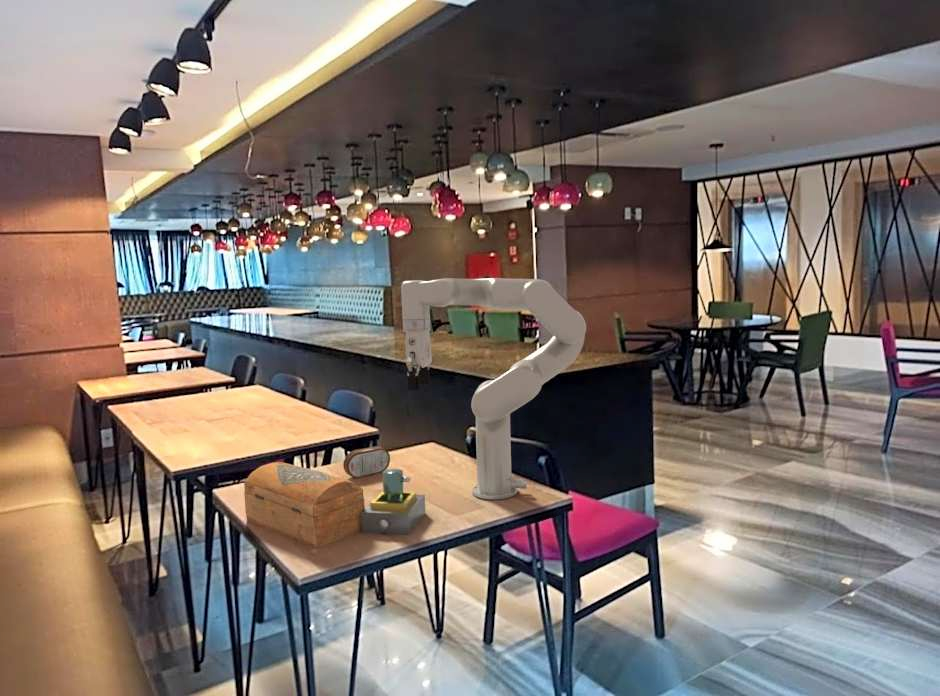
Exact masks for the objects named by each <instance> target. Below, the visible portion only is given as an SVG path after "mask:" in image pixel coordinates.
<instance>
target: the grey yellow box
mask: <svg viewBox="0 0 940 696" xmlns="http://www.w3.org/2000/svg"><path fill="white" fill-rule="evenodd" d="M403 495H404V502H403V503H395V502H384V499H383V490H382V491H381V492H380V493H379V494H377V496H376V497H374V498H373V499H372V500H371V502H370V503H369V504H368V505H367V506H366V507H365V509H364V510H363V511H362V512H361V521H362V530H361V532H362V533H374V534H389V535H390V534H393V535H411V533H412V532H413V530H414V529H415V528H416V527H417V525H418V524H419V523H420V521H421V520H422V519H423V518H424V517H425V515H426V497H425V496H426V495H425V494H417V491H403Z"/></svg>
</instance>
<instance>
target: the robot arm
mask: <svg viewBox="0 0 940 696" xmlns="http://www.w3.org/2000/svg"><path fill="white" fill-rule="evenodd" d="M400 288H401V289H400V292H401V310H402V312H401V313H402V331H403V332H405V363H406V366H407V367H406V371H407V374H406V375H407V387H408V388H407V390H408V391H420V390H421V385H429V384H431V381H430V378H431V376H430V365H431V364H432V362H433V357H432V355H433V354H432V345H431V336H430V331H431V314H430V313H431V312H430V309H431V308H430V307H436V308H445V307H447V306H473V307H482V308H485V309H488V310H494V311H495V310H496V311H527V312H530V313H531V315H532V316H533V317H534V318H535V319H536V320H537V321H538V322H539V323H540V324H541V325H542V326H544V327H545V328H546V330H548V332H550V334H551V335H552V338H551V339H550V340H549V341H548V342H546V343H545V344H544V345H542V346H541V347H540V348H538V349H537V350H535V351H534V352H532V353H531V354H529V355H527V356H526V357H524V358H522V359H520V360H519V361H517V362H515V363H513V364H512V365H511V367H509V369H508V371H506V372H505V373H503V374H501V375H500V376H499V377H498V378H496V379H489V380H488V379H487V380H486V381H483V382H482V383H480V384H479V385H478V387H477V388H476V390H475V391H474V394H473V396H472V398H471V402H470V403H471V407H470V408H471V411H472V413H473V414H474V417H475V444H476V445H475V447H476V449H475V450H476V473H477V474H476V475H477V479H476V480H477V481H476V482H477V484H476V485H474V486H473V487H472V489H471V491H472V495H473V496H475V497H477V498H480V499H483V500H503V499H508V498H512V497H514V496H515V495H517V493H518V489H525V490H526V489H528V481H525V480H524V479H516V478H515V474H513V473H512V456H511V455H512V453H511V451H512V450H511V449H512V447H511V414H512V413H513V412H515V411H517V410H518V409H519V408H521V407H523V406H524V405H526V404H527V403H529V402H530V401H532V400H533V399H534V398H535V397H536V396H537V395H539V393H540V391H541V389H542V386H543V385H544V384H545V383H547V382H549V381H550V380H551V379H553V378H555V377H556V376H557V375H558V374H560V373H562V372H563V371H565V370H566V369H568V367H570V366H571V365H572V364H573V363H574V362H575V361H576V359H578V357H579V355H580V353H581V351H582V349H583V346H584V343H585V338H586V336H585V335H586V332H587V323H586V321H585V317H583V315H582V313H580V312H579V311H578V310H576V309H574V307H572V305H570V304H569V303H568V302H567V301H566V300H565V299H564V298H563V297H562V296H561V295H560V294H559V293H558V292H557V291H556V289H554V288H553V286H552V284H551V283H549V282H548V281H547V280H544V279H541V278H540V279H538V278H537V279H536V278H508V277H507V278H506V277H505V278H504V277H503V278H502V277H490V278H489V277H488V278H455V277H454V278H451V277H449V278H448V277H446V278H444V277H443V278H438V279H432V280H428V281H426V280H422V279H417V280H416V279H415V280H404V281H402V283H401V287H400Z"/></svg>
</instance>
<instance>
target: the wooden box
mask: <svg viewBox="0 0 940 696" xmlns="http://www.w3.org/2000/svg"><path fill="white" fill-rule="evenodd" d="M243 495H244V508H245V511H244V512H245V516H246V521H248V522H249V523H252V524H255V525H258V526H260V527H263V528H265V529H267V530H269V531H270V530H271V531H273V532H275V533H278V534H281V535H283V536H285V537H288V538H291V539H293V540H295V541H298V542H301V543H303V544H305V545H308V546H311V547H314V548H321V547H323V546H326V545H328V544H330V543H333V542H335V541H336V542H337V541H338V540H341V539H343V538H346V537H348V536H350V535H352V534H353V535H354V534H356V533H358V532H361V531H362V521H361V512H362V511H363V510H364V509H365V508H366V507H365V498H364V497H365V496H364V488H362V487H360V485H357V484H356V483H354V482H353V481H351V480H348V479H346V478H343V477H339V476H334V475H331V474H327V473H326V472H323V471H318V470H315V469H311V468H307V467H303V466H299V465H294V464H291V463H286V462H281V461H275V462H271V463H267V464H263V465H261V466H259V467H257V468H256V469H255V470H253V471H252V472H250V474H249V475H248V476H247V478H246V479H245V481H244V492H243Z"/></svg>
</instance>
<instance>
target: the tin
mask: <svg viewBox="0 0 940 696" xmlns="http://www.w3.org/2000/svg"><path fill="white" fill-rule="evenodd" d="M390 462H391V456H390V452H389V451H387V449H386V448H384V447H382V446H380V445H376V446H371V447H365V448H358V449H354V450H352V451H350V452H349V453H347V455H346V456H345V457H344V460H343V470H344V473H345V474H346V475H348V476H349V477H352V478H354V479H359V478H363V477H368V476H372V475H378V474H379V475H380V474H383V471H385V470H388V467H389V465H390Z"/></svg>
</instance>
